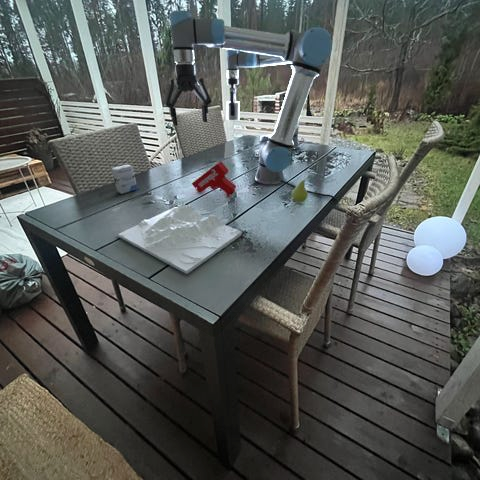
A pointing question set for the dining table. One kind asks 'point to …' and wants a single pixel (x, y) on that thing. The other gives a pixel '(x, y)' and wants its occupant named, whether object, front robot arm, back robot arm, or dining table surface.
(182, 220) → the relief map
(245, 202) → the dining table surface
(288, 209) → the dining table surface
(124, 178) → the ink box
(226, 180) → the toy gun
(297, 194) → the fruit
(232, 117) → the can
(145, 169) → the dining table surface
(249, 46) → the front robot arm
